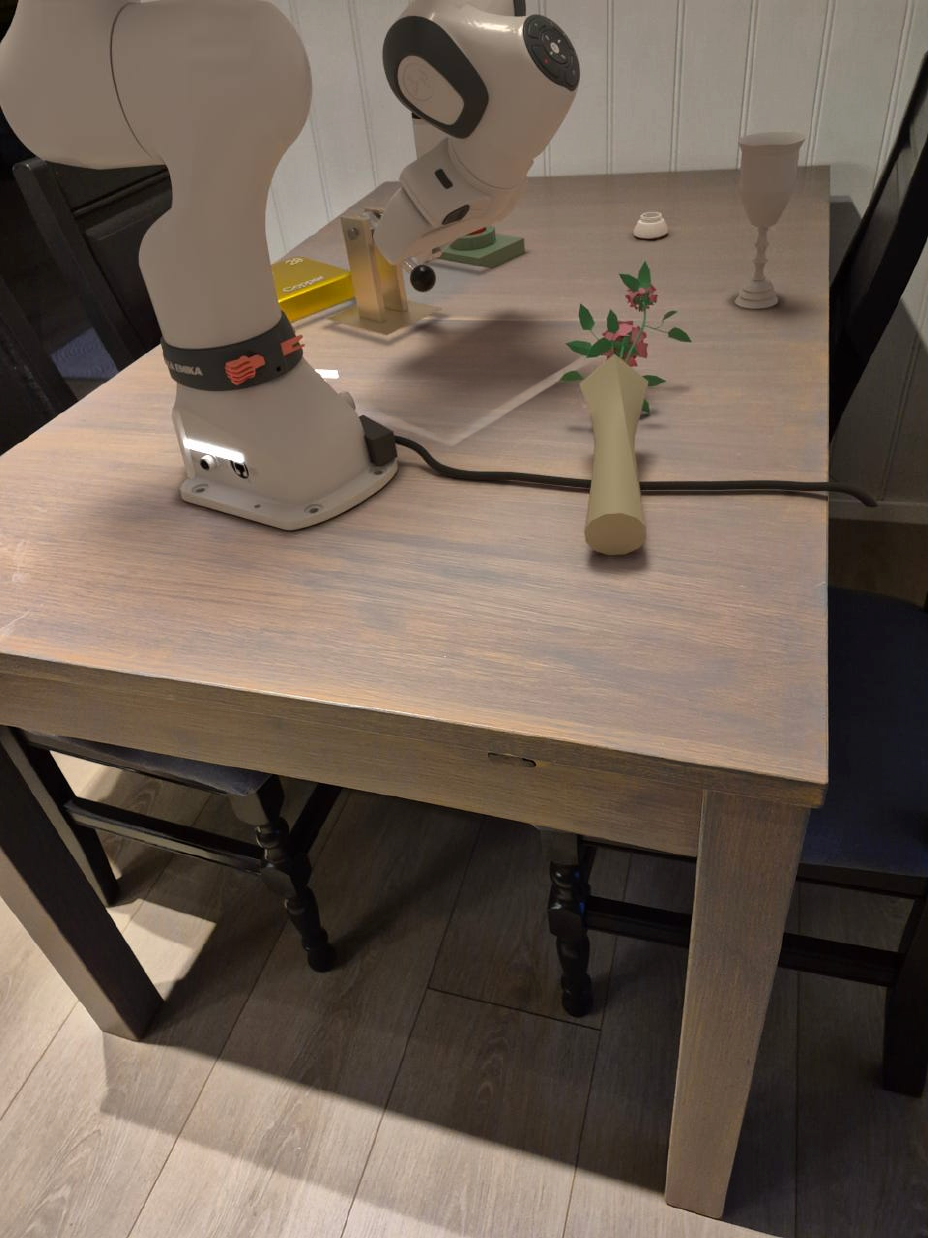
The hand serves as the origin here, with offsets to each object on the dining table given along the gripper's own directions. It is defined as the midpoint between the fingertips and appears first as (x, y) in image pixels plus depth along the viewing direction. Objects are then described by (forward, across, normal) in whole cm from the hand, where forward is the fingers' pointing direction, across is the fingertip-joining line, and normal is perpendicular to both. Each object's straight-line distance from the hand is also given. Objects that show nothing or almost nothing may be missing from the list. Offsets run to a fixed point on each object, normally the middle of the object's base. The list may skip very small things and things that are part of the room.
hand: (425, 256), depth 106 cm
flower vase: (-19, +13, +34) cm, 41 cm away
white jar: (+5, -44, +8) cm, 45 cm away
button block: (+19, -25, -5) cm, 32 cm away
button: (+16, -25, -8) cm, 31 cm away
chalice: (-14, -27, +28) cm, 41 cm away
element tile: (+26, +3, -12) cm, 29 cm away
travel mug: (+31, -36, -17) cm, 51 cm away
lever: (+6, 0, -3) cm, 7 cm away
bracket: (+14, 0, 0) cm, 14 cm away
